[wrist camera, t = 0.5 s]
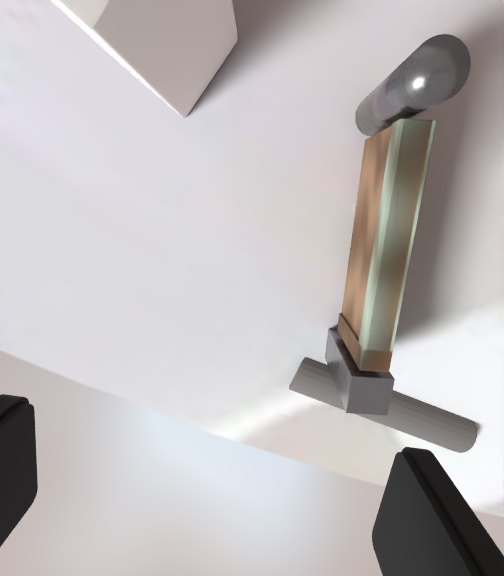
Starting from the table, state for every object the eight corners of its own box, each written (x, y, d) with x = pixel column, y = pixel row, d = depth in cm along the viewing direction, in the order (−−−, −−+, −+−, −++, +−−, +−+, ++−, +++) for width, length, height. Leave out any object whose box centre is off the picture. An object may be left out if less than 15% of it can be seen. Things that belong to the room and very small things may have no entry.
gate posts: (396, 95, 26) (476, 35, 16) (355, 359, 32) (395, 429, 22) (358, 93, 26) (415, 33, 16) (325, 357, 32) (351, 426, 22)
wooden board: (362, 139, 25) (400, 118, 18) (388, 141, 25) (436, 120, 18) (337, 329, 30) (359, 370, 23) (359, 330, 30) (388, 372, 23)
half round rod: (302, 351, 33) (304, 360, 31) (474, 418, 34) (485, 429, 32) (285, 386, 34) (286, 396, 32) (452, 448, 35) (461, 461, 33)
